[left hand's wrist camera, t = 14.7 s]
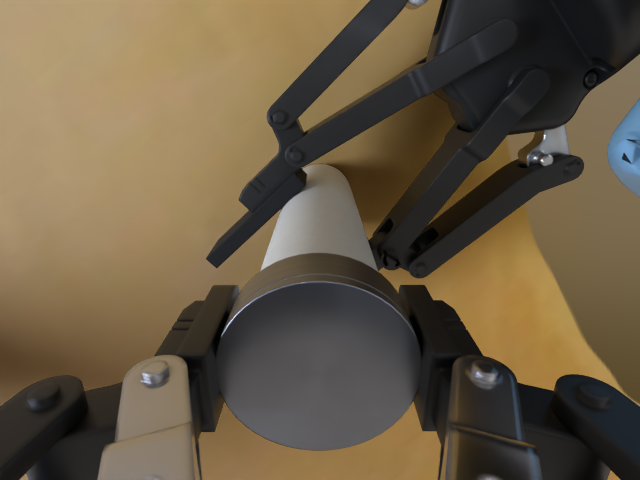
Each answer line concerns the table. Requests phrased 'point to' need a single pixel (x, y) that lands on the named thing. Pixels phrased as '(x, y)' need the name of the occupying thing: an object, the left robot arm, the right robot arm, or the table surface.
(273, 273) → the lid
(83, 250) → the table surface
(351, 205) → the white long cylinder
